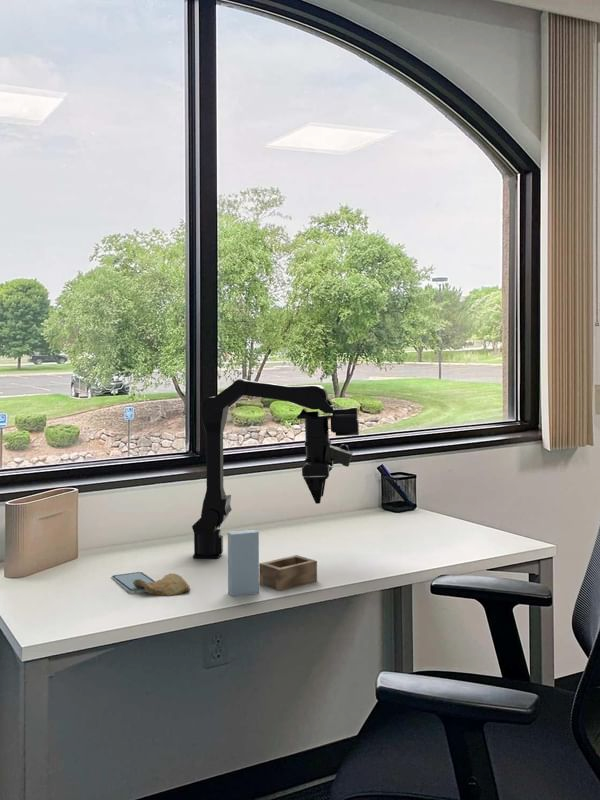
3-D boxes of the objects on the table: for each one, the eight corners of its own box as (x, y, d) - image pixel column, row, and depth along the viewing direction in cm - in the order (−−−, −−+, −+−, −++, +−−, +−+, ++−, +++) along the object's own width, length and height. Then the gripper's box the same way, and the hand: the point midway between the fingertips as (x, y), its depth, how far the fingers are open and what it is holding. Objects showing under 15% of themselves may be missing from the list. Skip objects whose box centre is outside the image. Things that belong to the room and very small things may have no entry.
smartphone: (141, 571, 182) (163, 586, 169) (141, 575, 182) (163, 591, 169) (110, 575, 178) (130, 591, 165) (110, 579, 178) (130, 596, 165)
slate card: (231, 596, 163) (231, 534, 163) (228, 592, 166) (227, 532, 165) (258, 593, 166) (258, 532, 165) (255, 589, 168) (254, 529, 167)
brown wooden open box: (279, 590, 167) (279, 569, 167) (259, 583, 172) (259, 563, 172) (316, 580, 174) (316, 560, 174) (296, 574, 180) (296, 555, 179)
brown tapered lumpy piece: (168, 587, 175) (128, 585, 169) (173, 568, 175) (133, 565, 169) (192, 602, 167) (151, 600, 161) (197, 582, 167) (156, 579, 161)
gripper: (348, 440, 182) (350, 506, 183) (351, 431, 200) (353, 492, 201) (300, 441, 183) (303, 507, 184) (308, 433, 202) (310, 493, 203)
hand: (319, 499), depth 193 cm, fingers open, 9 cm apart
